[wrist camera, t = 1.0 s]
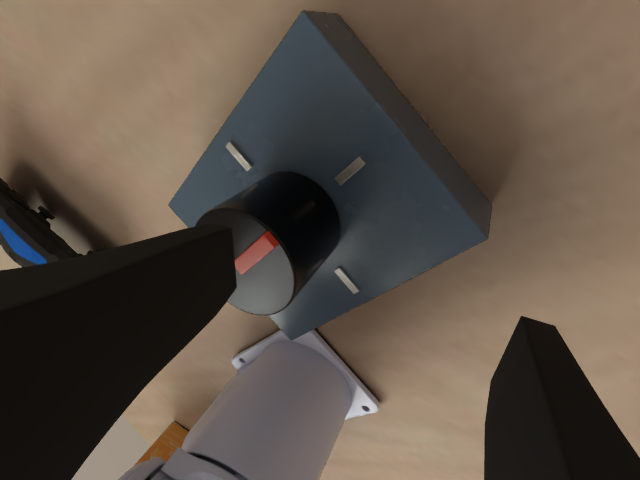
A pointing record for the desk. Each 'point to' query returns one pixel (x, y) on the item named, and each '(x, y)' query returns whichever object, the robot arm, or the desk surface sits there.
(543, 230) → the desk surface
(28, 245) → the gaming controller
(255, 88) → the dial panel
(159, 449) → the small box
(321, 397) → the robot arm
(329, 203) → the dial
